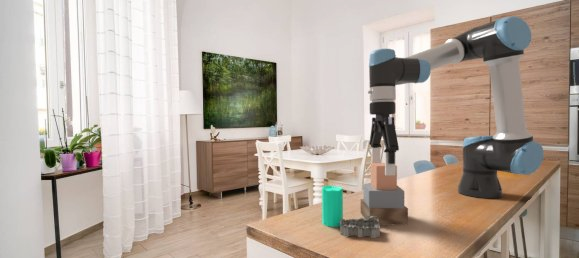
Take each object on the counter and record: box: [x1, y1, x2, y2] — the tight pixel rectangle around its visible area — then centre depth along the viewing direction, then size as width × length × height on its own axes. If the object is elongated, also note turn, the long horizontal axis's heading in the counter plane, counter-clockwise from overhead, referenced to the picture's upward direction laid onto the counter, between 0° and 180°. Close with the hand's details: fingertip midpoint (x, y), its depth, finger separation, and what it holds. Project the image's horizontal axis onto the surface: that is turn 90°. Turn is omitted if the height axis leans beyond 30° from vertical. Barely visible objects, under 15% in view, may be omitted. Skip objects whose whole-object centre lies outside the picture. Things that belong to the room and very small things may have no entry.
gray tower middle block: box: [363, 183, 405, 208], centre depth 94 cm, size 10×10×5 cm
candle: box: [321, 182, 344, 228], centre depth 90 cm, size 6×6×12 cm
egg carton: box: [339, 216, 381, 239], centre depth 83 cm, size 11×8×4 cm
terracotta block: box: [370, 162, 398, 190], centre depth 93 cm, size 6×6×7 cm
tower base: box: [360, 198, 409, 226], centre depth 94 cm, size 11×11×5 cm
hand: (382, 171), depth 94 cm, fingers open, 13 cm apart
